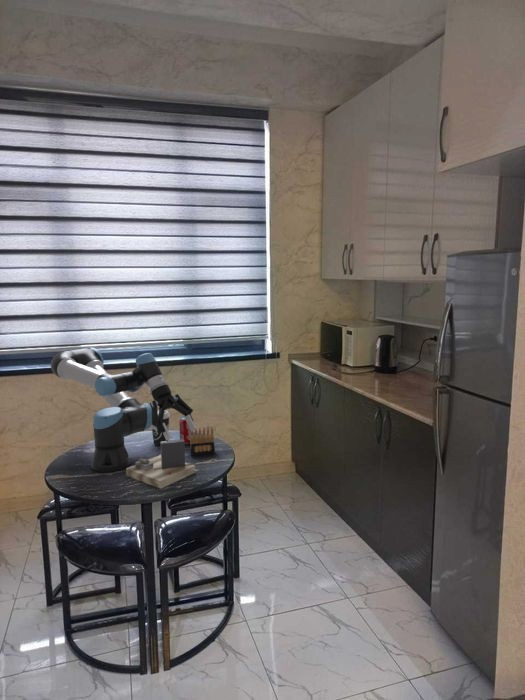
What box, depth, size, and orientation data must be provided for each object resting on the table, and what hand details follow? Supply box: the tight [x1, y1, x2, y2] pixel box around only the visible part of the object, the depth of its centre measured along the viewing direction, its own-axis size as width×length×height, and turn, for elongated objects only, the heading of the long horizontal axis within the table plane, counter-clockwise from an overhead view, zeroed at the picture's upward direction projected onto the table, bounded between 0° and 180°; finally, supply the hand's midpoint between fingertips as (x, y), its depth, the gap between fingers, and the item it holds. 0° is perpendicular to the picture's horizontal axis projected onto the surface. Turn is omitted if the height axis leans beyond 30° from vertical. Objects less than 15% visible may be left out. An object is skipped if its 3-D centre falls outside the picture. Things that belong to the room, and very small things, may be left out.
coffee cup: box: [151, 409, 171, 446], centre depth 223 cm, size 10×10×15 cm
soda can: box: [178, 416, 191, 445], centre depth 224 cm, size 6×6×12 cm
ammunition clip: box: [189, 426, 216, 456], centre depth 210 cm, size 11×2×12 cm, turn 104°
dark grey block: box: [160, 439, 186, 468], centre depth 188 cm, size 9×2×10 cm, turn 109°
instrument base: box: [125, 454, 196, 489], centre depth 189 cm, size 20×18×6 cm
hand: (181, 434), depth 190 cm, fingers open, 13 cm apart
